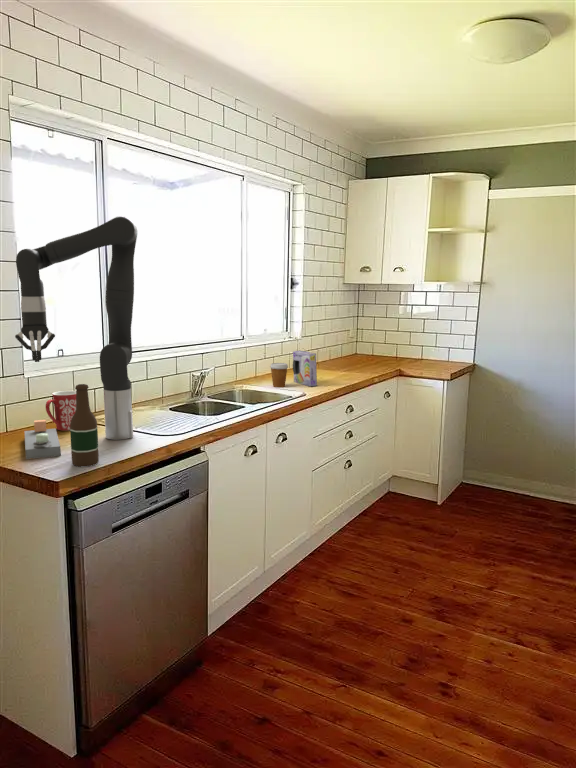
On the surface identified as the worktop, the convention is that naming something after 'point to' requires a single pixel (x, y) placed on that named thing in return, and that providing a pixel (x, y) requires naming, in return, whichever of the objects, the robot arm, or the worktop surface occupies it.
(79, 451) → the beer bottle
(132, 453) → the worktop surface
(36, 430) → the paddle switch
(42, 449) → the control panel
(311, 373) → the cake pan box
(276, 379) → the disposable coffee cup
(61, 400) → the mug
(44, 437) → the green push button
